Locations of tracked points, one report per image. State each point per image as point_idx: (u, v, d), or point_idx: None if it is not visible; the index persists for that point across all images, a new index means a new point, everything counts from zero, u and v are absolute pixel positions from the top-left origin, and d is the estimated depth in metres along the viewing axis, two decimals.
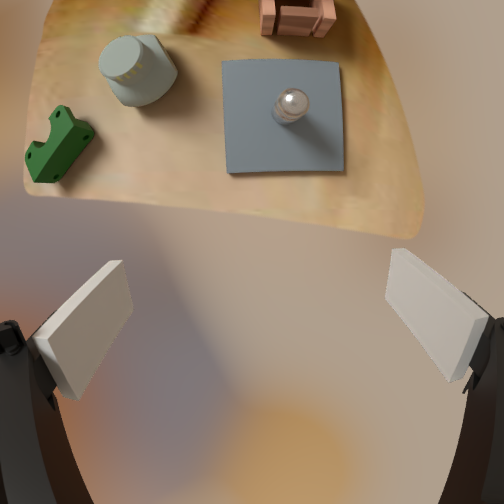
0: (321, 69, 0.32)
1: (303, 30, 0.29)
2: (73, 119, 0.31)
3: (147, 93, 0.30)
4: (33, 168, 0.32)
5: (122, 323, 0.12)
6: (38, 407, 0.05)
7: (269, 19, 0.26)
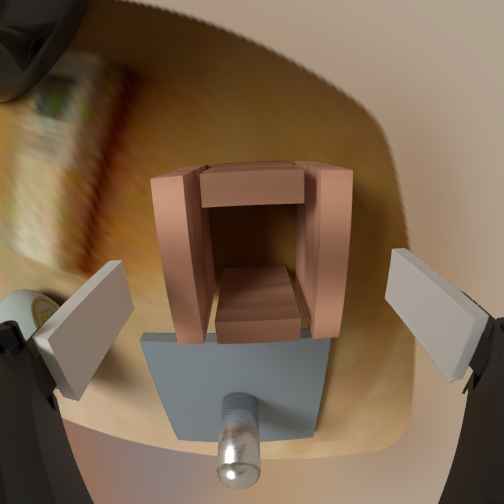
0: (300, 350, 0.23)
1: None
2: None
3: None
4: None
5: (122, 323, 0.12)
6: (38, 407, 0.05)
7: None
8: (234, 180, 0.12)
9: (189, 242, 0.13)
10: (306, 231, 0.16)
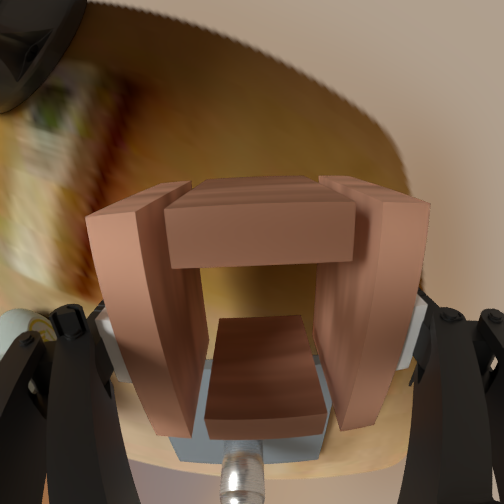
0: None
1: None
2: None
3: None
4: None
5: None
6: (96, 396, 0.06)
7: None
8: (228, 221, 0.07)
9: (156, 320, 0.08)
10: (338, 285, 0.11)
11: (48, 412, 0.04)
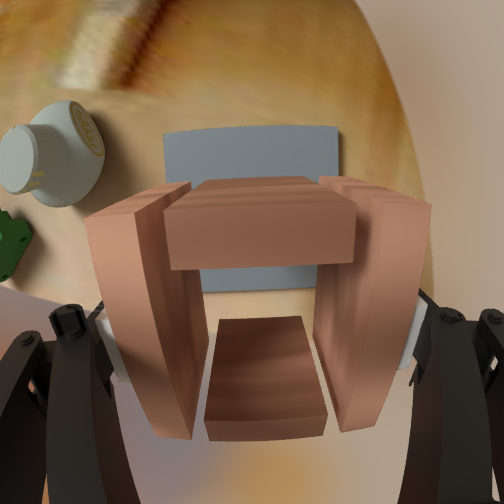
0: (311, 140, 0.24)
1: None
2: (2, 224, 0.23)
3: (66, 196, 0.22)
4: None
5: None
6: (96, 396, 0.06)
7: None
8: (228, 222, 0.06)
9: (155, 322, 0.08)
10: (338, 286, 0.11)
11: (48, 412, 0.04)
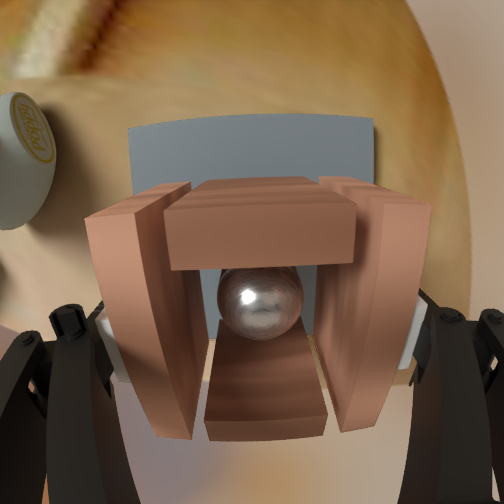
0: (337, 135, 0.16)
1: None
2: None
3: (9, 218, 0.14)
4: None
5: None
6: (96, 396, 0.06)
7: None
8: (228, 223, 0.07)
9: (155, 322, 0.08)
10: (338, 286, 0.11)
11: (48, 412, 0.04)
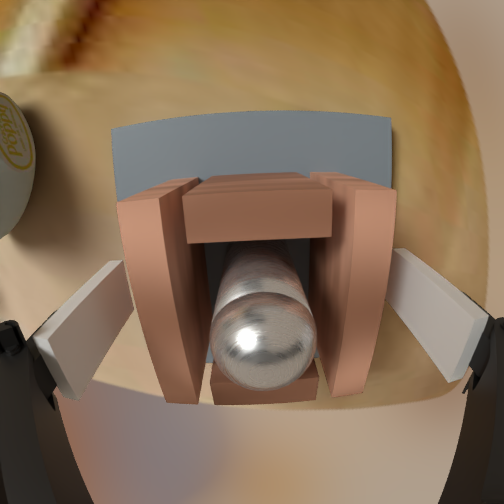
0: (352, 137, 0.14)
1: None
2: None
3: None
4: None
5: (122, 323, 0.12)
6: (38, 407, 0.05)
7: None
8: (232, 205, 0.08)
9: (172, 289, 0.09)
10: (326, 264, 0.13)
11: None
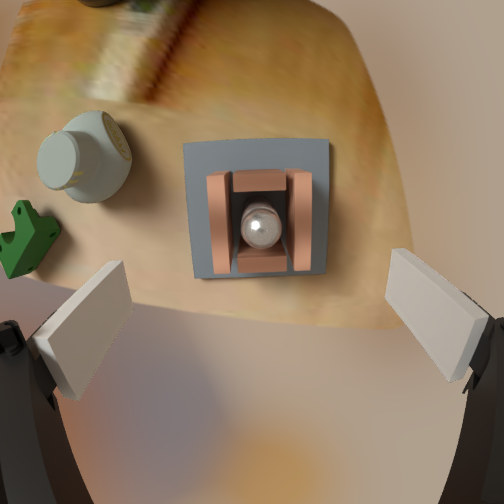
0: (306, 150, 0.30)
1: None
2: (34, 220, 0.28)
3: (98, 193, 0.27)
4: (6, 264, 0.29)
5: (122, 323, 0.12)
6: (38, 407, 0.05)
7: None
8: (250, 178, 0.24)
9: (225, 210, 0.25)
10: (290, 209, 0.28)
11: None
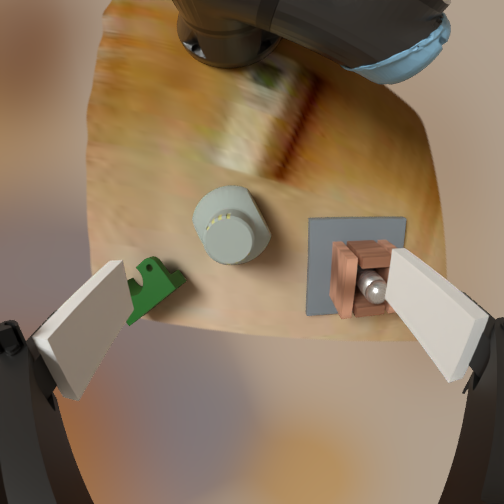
0: (392, 227, 0.41)
1: None
2: (170, 277, 0.39)
3: (246, 259, 0.39)
4: None
5: (122, 323, 0.12)
6: (38, 407, 0.05)
7: None
8: (373, 260, 0.35)
9: (355, 280, 0.36)
10: (385, 272, 0.39)
11: None
